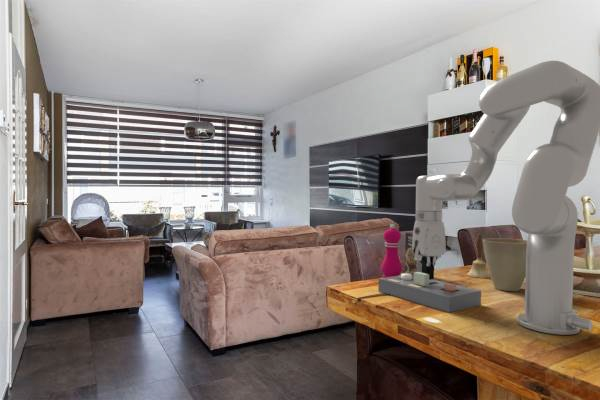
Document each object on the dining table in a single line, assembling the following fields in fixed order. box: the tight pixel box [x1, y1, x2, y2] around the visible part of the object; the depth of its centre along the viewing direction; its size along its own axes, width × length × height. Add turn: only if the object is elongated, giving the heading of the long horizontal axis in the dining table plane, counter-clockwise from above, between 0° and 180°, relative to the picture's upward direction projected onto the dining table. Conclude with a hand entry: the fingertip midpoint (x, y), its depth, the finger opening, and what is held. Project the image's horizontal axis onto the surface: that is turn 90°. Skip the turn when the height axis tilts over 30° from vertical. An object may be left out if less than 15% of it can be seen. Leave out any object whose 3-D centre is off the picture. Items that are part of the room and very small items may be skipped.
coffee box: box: [404, 231, 431, 275], centre depth 150 cm, size 9×6×16 cm
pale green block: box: [414, 272, 429, 286], centre depth 118 cm, size 4×2×6 cm, turn 33°
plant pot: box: [483, 237, 528, 292], centre depth 131 cm, size 15×15×16 cm
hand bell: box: [466, 233, 491, 279], centre depth 152 cm, size 8×8×16 cm
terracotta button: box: [444, 282, 457, 292], centre depth 112 cm, size 3×3×2 cm
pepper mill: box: [380, 223, 403, 278], centre depth 142 cm, size 7×7×20 cm
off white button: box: [400, 272, 412, 281], centre depth 126 cm, size 3×3×2 cm
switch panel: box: [377, 274, 482, 313], centre depth 119 cm, size 26×14×4 cm, turn 33°
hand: (427, 278), depth 119 cm, fingers closed
